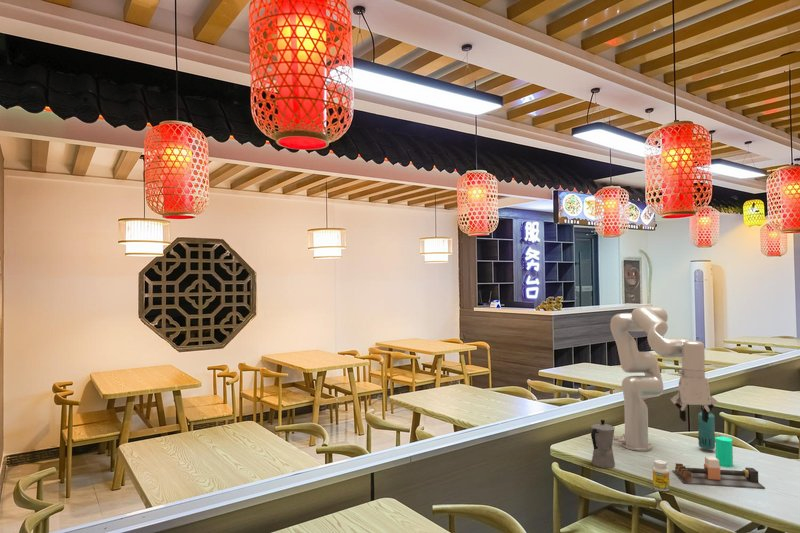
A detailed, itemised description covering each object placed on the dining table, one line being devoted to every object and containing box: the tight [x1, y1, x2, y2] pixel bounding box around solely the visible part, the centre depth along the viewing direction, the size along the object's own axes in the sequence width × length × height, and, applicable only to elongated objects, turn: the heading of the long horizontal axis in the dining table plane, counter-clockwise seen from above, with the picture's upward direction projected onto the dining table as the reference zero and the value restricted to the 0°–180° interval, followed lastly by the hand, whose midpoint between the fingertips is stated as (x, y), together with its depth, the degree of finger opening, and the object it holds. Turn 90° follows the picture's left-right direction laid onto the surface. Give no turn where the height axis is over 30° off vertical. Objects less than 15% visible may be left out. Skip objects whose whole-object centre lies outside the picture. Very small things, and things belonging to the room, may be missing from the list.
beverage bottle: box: [697, 405, 716, 450], centre depth 224 cm, size 6×7×20 cm
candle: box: [715, 436, 734, 468], centre depth 208 cm, size 6×6×12 cm
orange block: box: [703, 456, 721, 480], centre depth 192 cm, size 4×4×7 cm
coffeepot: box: [590, 419, 616, 469], centre depth 207 cm, size 15×9×18 cm, turn 131°
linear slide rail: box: [672, 462, 766, 490], centre depth 192 cm, size 27×12×5 cm, turn 80°
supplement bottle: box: [652, 459, 671, 492], centre depth 184 cm, size 5×5×10 cm
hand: (694, 420), depth 193 cm, fingers open, 6 cm apart
